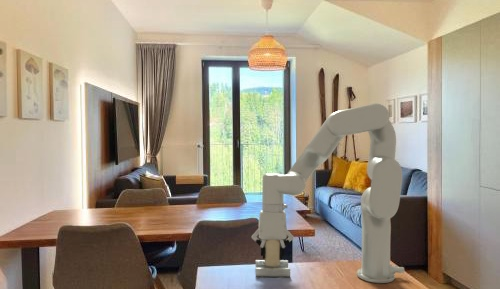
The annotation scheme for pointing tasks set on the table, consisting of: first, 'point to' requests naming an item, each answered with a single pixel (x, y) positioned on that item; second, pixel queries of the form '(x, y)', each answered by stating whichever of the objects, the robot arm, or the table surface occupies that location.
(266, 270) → the track
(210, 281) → the table surface
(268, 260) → the candle
